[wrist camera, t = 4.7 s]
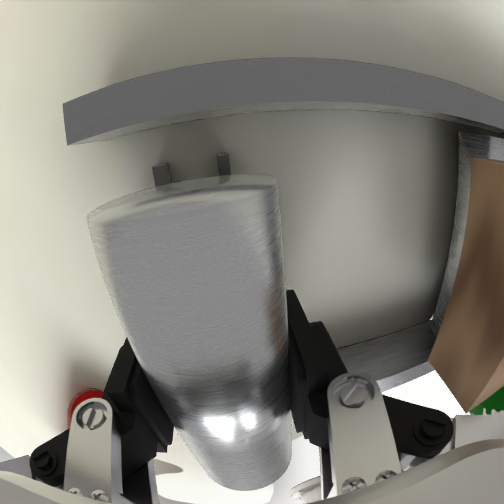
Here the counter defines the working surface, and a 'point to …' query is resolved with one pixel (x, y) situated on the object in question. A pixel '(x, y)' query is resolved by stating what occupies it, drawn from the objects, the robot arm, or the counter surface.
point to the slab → (476, 296)
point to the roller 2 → (463, 209)
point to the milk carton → (491, 404)
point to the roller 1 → (207, 315)
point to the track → (288, 98)
